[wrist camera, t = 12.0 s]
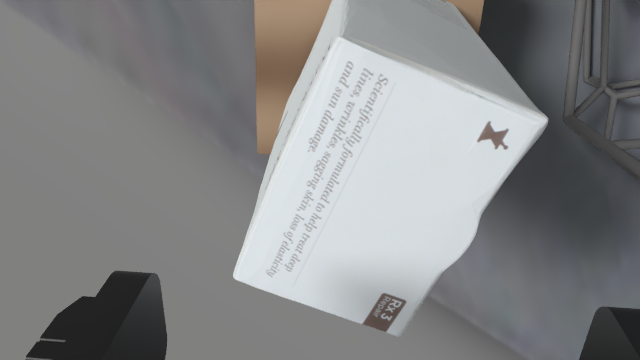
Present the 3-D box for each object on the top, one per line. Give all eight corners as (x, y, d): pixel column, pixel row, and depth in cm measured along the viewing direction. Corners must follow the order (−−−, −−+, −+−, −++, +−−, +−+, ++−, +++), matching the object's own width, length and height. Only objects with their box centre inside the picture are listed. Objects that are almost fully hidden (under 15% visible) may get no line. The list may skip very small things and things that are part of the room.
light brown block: (272, -68, 30) (253, -63, 25) (469, -60, 30) (492, -53, 25) (273, 116, 35) (257, 153, 30) (442, 126, 35) (456, 165, 30)
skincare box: (347, -47, 25) (330, 5, 12) (463, 7, 26) (568, 111, 13) (283, 110, 29) (216, 282, 16) (386, 153, 30) (404, 353, 16)
